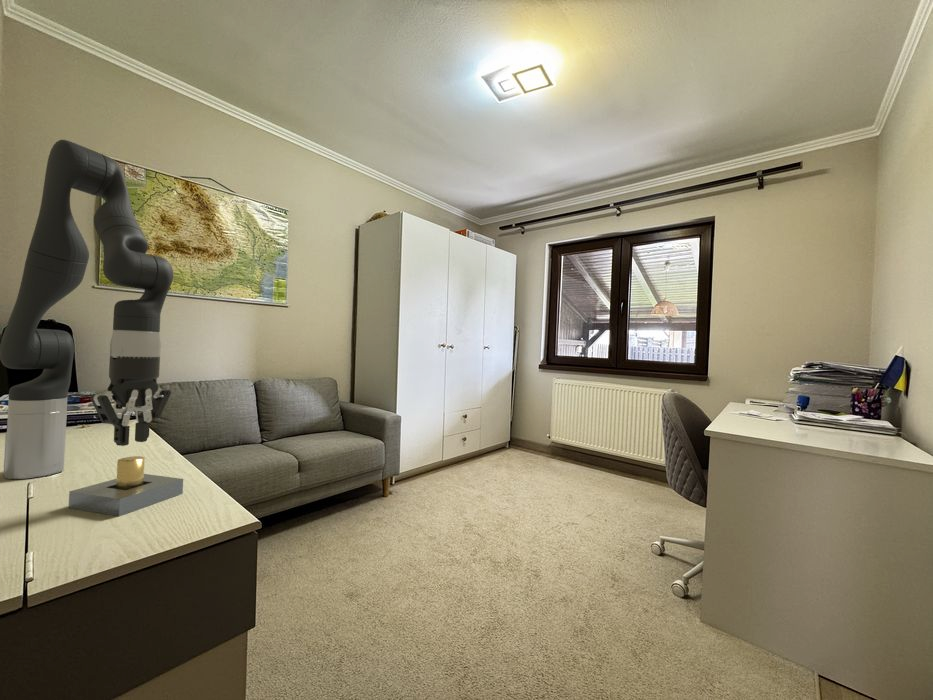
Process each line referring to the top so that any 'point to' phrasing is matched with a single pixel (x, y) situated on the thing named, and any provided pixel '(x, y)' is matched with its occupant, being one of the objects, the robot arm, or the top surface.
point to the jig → (124, 495)
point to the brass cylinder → (130, 472)
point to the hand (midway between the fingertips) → (131, 442)
